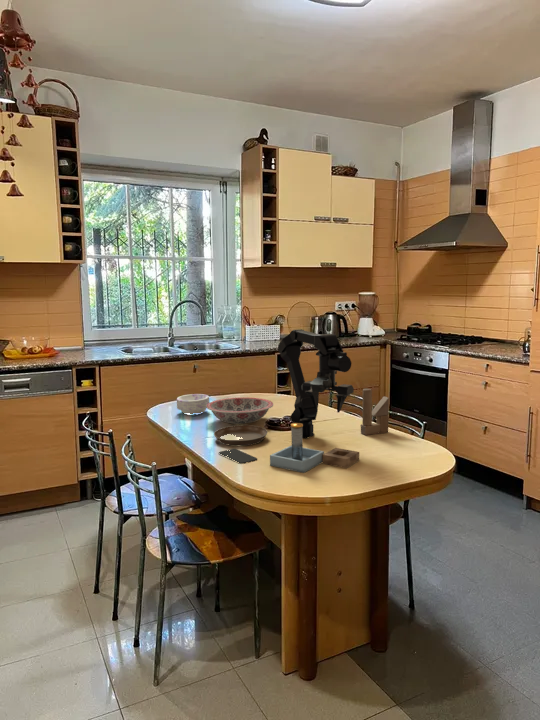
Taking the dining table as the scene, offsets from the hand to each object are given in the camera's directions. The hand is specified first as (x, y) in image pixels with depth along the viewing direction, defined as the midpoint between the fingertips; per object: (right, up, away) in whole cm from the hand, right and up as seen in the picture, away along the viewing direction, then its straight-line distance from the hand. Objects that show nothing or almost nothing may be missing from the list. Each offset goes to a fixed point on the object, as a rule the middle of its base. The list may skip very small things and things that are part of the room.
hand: (327, 410), depth 194 cm
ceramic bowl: (-34, -9, +38) cm, 52 cm away
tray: (-12, -16, -18) cm, 27 cm away
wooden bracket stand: (+21, -11, +17) cm, 29 cm away
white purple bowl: (-57, -7, +56) cm, 80 cm away
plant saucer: (-32, -13, +11) cm, 36 cm away
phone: (-32, -16, -9) cm, 37 cm away
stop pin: (-12, -15, -18) cm, 26 cm away
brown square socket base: (+3, -15, -17) cm, 23 cm away
